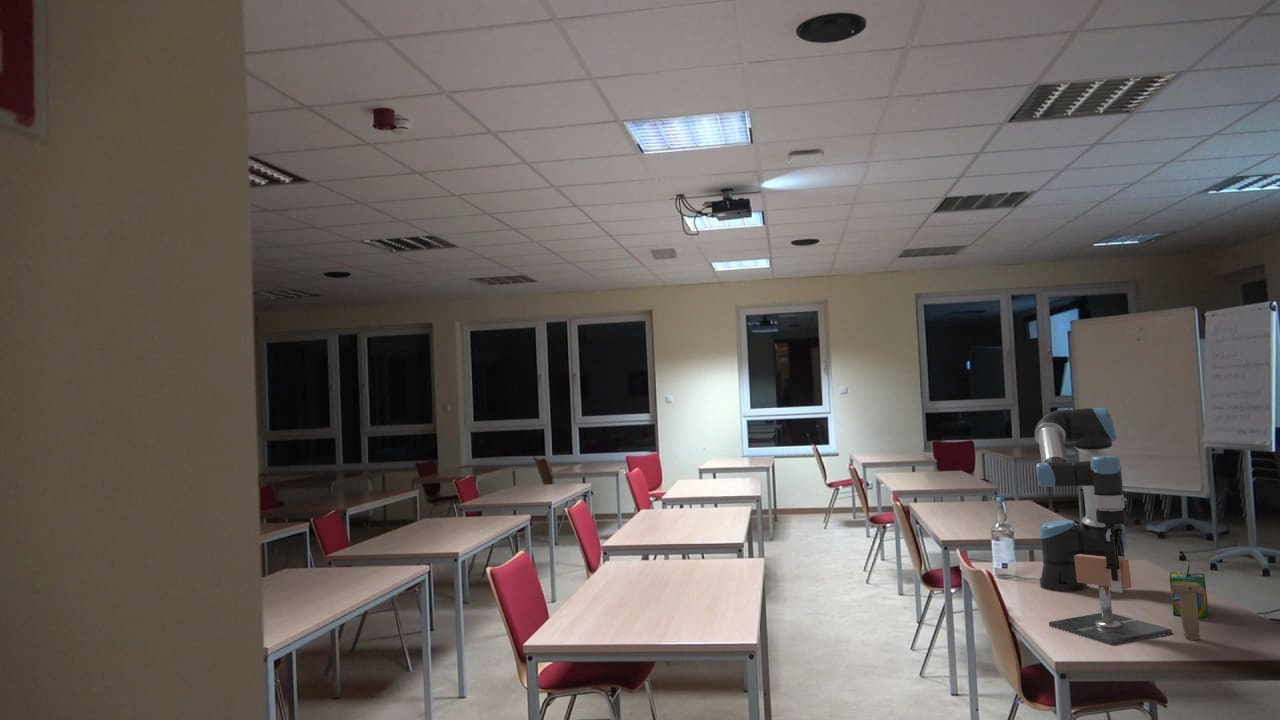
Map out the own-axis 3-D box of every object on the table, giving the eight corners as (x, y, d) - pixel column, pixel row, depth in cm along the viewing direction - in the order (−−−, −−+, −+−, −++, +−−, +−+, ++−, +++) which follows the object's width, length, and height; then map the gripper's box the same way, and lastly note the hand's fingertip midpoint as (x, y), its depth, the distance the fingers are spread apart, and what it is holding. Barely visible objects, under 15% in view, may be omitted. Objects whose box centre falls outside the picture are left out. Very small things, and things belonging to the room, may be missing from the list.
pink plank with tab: (1082, 580, 235) (1078, 551, 236) (1131, 587, 224) (1127, 556, 224) (1077, 582, 234) (1073, 552, 234) (1126, 589, 222) (1122, 558, 223)
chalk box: (1173, 608, 244) (1167, 560, 245) (1208, 610, 239) (1202, 562, 240) (1172, 615, 237) (1166, 566, 238) (1209, 618, 231) (1203, 568, 232)
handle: (1209, 641, 211) (1202, 585, 213) (1183, 641, 213) (1176, 586, 214) (1201, 636, 216) (1194, 581, 217) (1175, 636, 217) (1168, 582, 219)
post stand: (1106, 615, 241) (1101, 574, 242) (1172, 633, 220) (1166, 588, 221) (1049, 626, 235) (1044, 583, 236) (1111, 645, 214) (1105, 598, 215)
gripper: (1118, 513, 218) (1127, 597, 216) (1131, 506, 231) (1139, 585, 229) (1088, 512, 223) (1097, 594, 221) (1102, 505, 236) (1110, 583, 234)
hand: (1118, 590), depth 225 cm, fingers open, 4 cm apart
